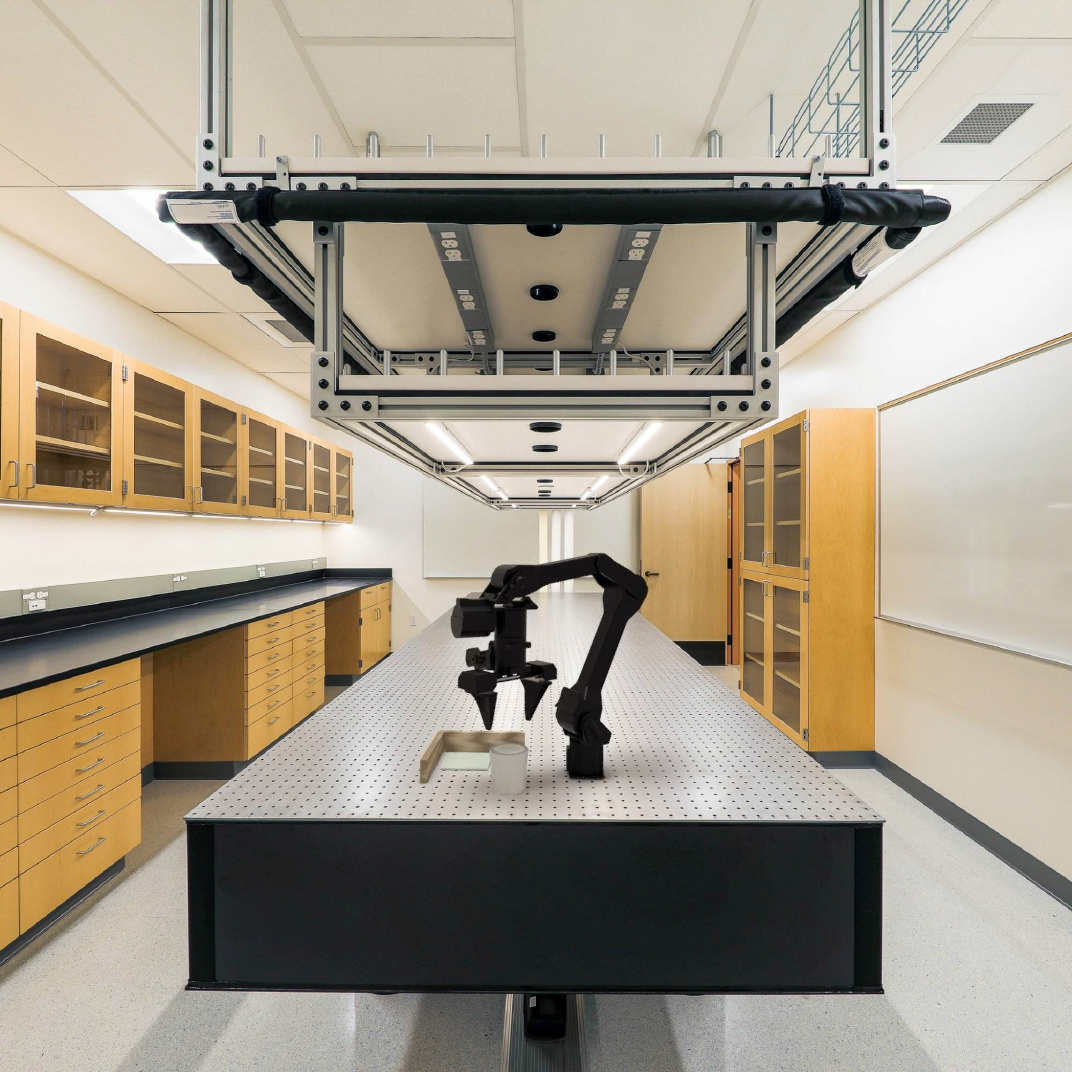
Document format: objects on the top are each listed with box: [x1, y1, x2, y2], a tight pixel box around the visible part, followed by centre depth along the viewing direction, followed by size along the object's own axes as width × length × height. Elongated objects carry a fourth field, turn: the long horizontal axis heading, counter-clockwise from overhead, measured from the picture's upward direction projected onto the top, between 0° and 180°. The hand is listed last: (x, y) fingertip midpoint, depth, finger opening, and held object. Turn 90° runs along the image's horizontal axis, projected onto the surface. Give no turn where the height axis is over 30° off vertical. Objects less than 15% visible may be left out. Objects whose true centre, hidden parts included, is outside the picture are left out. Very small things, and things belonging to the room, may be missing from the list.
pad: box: [440, 752, 491, 772], centre depth 117 cm, size 9×9×1 cm
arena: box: [419, 729, 526, 784], centre depth 115 cm, size 18×18×4 cm
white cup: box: [488, 743, 529, 796], centre depth 104 cm, size 7×7×7 cm
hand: (508, 725), depth 104 cm, fingers open, 9 cm apart
